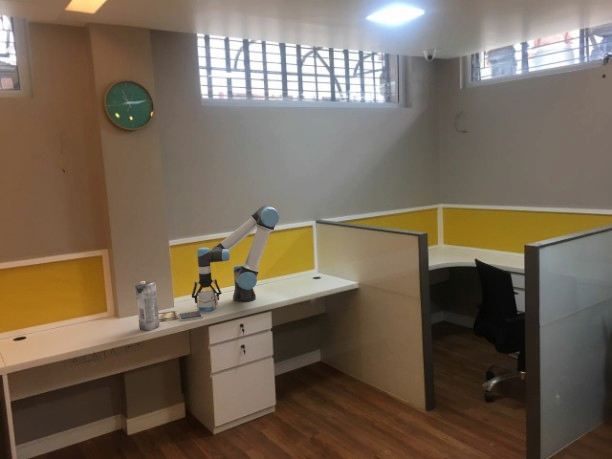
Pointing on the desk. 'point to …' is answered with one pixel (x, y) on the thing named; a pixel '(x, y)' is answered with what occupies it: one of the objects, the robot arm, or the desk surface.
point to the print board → (168, 316)
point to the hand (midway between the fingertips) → (207, 306)
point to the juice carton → (147, 305)
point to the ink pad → (190, 315)
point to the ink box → (206, 300)
